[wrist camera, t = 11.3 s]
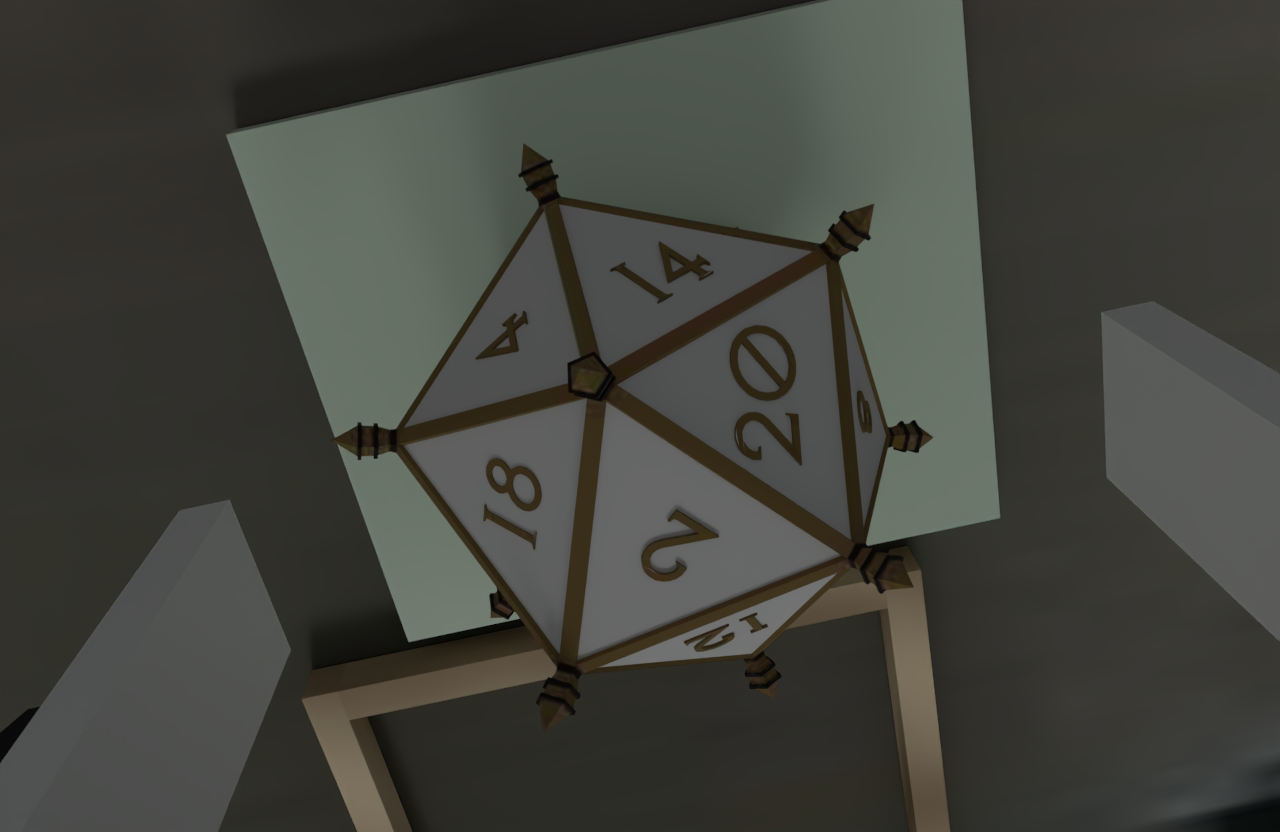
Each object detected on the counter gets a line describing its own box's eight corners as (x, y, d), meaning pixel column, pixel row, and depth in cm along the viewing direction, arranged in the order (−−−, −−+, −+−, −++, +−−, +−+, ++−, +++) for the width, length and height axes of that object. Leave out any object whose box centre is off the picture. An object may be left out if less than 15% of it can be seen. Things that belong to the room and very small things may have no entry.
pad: (989, 504, 23) (1000, 518, 23) (412, 625, 24) (408, 642, 23) (948, -30, 19) (959, -29, 18) (235, 129, 19) (226, 134, 19)
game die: (563, 236, 23) (360, -31, 14) (956, 312, 21) (1043, 63, 12) (451, 637, 22) (144, 654, 13) (856, 756, 20) (862, 884, 11)
